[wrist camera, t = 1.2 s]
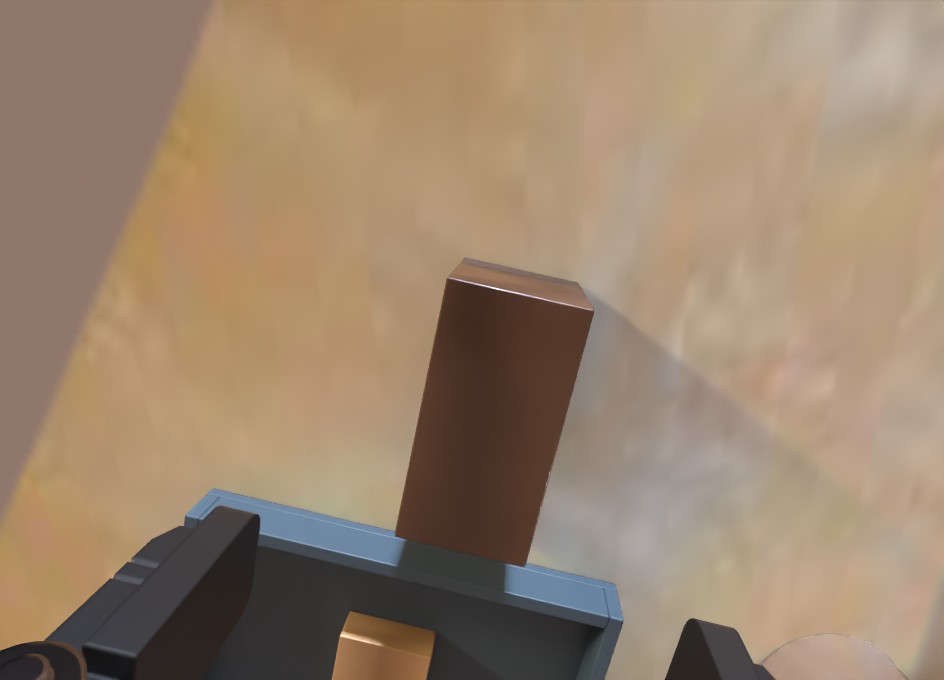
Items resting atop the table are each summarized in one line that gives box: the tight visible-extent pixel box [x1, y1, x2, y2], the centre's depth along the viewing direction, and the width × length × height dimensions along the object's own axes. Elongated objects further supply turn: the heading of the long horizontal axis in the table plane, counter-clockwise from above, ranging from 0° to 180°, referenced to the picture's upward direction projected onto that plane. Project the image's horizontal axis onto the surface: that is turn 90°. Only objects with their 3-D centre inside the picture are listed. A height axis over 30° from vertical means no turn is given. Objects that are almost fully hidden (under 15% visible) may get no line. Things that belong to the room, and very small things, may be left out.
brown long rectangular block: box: [395, 258, 594, 567], centre depth 22 cm, size 4×9×6 cm, turn 168°
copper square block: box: [332, 611, 436, 680], centre depth 27 cm, size 4×4×2 cm
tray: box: [184, 489, 624, 680], centre depth 27 cm, size 18×12×2 cm
